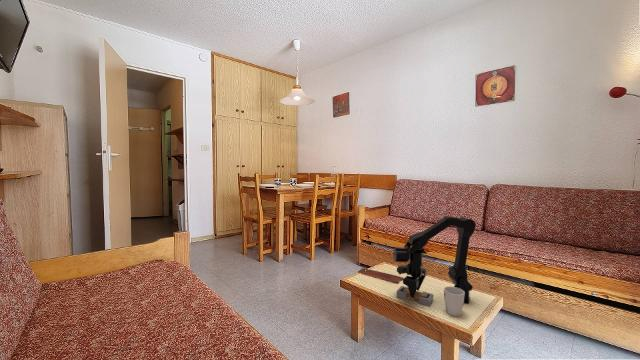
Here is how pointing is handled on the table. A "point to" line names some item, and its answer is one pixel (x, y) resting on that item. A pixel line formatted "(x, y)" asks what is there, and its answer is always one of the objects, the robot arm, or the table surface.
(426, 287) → the table surface
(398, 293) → the end cap
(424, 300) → the end cap
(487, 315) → the table surface
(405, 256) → the robot arm
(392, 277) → the wooden tablet
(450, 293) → the cup
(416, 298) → the slat
